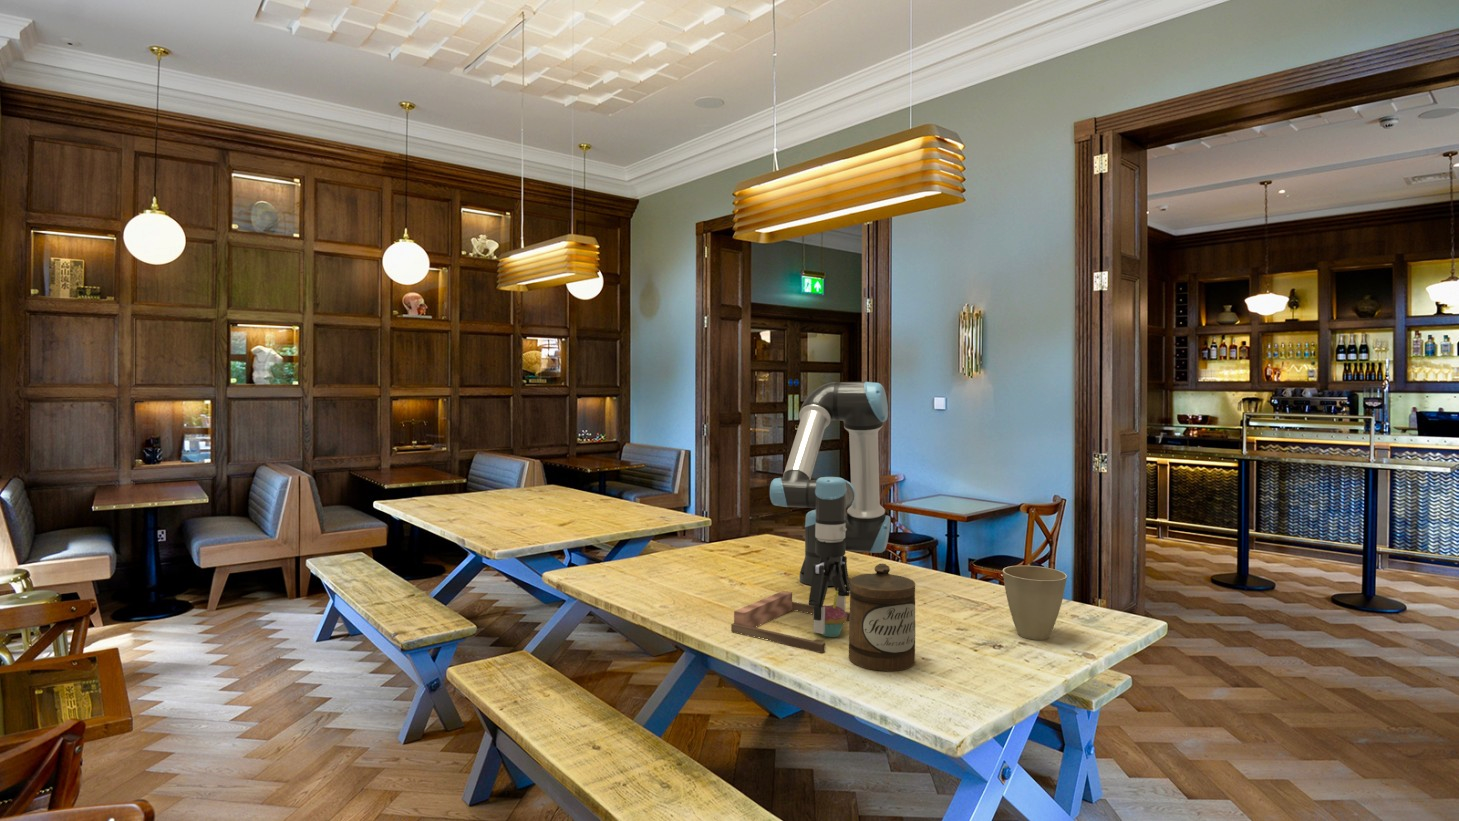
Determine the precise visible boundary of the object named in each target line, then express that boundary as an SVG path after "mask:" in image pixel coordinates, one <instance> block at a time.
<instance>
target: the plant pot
mask: <svg viewBox="0 0 1459 821" xmlns="http://www.w3.org/2000/svg"><path fill="white" fill-rule="evenodd" d="M1002 577H1003V584H1004V591H1005V595H1006V599H1007V604H1008V609H1009V612H1010V615H1011V617H1012V621H1013V624H1014V628H1015V630H1016V632H1017V635H1019V636H1020V637H1022V638H1024V639H1028V640H1034V641H1037V640H1038V641H1042V640H1048V639H1049V638H1050V636H1051V634H1052V632H1053V629H1054V627H1055V625H1056V622H1057V619H1058V616H1059V612H1060V610H1061V607H1062V603H1063V599H1064V594H1065V589H1066V584H1067V578H1068V575H1067V574H1066V573H1065V572H1064V571H1061V570H1058V569H1054V568H1050V567H1045V566H1037V565H1011V566H1007V567H1004V568H1003V569H1002Z"/></svg>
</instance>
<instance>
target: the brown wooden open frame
mask: <svg viewBox="0 0 1459 821" xmlns="http://www.w3.org/2000/svg"><path fill="white" fill-rule="evenodd" d="M791 610H792V611H794V610H798V611H797V612H799V611H802V612H801V613H804V612H808V613H807V614H809V613H812V614H811V615H813V614H814V607H813V606H810V605H809V604H806V603H800V602H796V601H793V592H792V591H788V590H781V591H779V592H777V593H775V594H772V595H770V596H769V595H768V596H767V597H765V598H763V599H760V600H757V601H755V602H753V603H750V604H748V605H746V606H743V607H741V608H739V609H736V610H734V611H733V623H731V624H730V626H731V627H730V628H731V630H730V631H733V632H732V633H734V632H738V633H742V634H746V635H745V636H747V635H750V636H749V637H751V636H755V637H760V638H764V639H768V640H771V641H770V642H773V641H774V642H773V643H777V642H778V643H777V644H781V645H786V646H791V647H794V646H795V647H794V648H798V647H799V648H798V649H804V650H807V651H812V652H816V653H821V654H824V653H826V649H825V648H826V644H825V642H822V641H816V640H812V639H807V638H803V637H799V636H794V635H790V634H785V633H781V632H776V631H773V630H768V629H763V628H759V627H760V626H761V625H760V624H762V625H764V624H766V623H768V622H770V621H772V620H774V618H775V619H777V618H779V617H781V616H783V615H785V614H787V613H789V612H791ZM845 613H847V615H848V617H847V620H846V622H849V616H850V612H848V611H845ZM778 616H779V617H778ZM776 617H777V618H776ZM769 620H770V621H769ZM767 621H768V622H767ZM765 622H766V623H765ZM763 623H764V624H763ZM759 625H760V626H759ZM756 626H757V627H756ZM738 633H737V634H738ZM742 634H741V635H742ZM755 637H754V638H755ZM760 638H759V639H760ZM764 639H763V640H764ZM768 640H767V641H768Z"/></svg>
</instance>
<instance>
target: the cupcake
mask: <svg viewBox="0 0 1459 821" xmlns="http://www.w3.org/2000/svg"><path fill="white" fill-rule="evenodd" d="M837 596H838V588H837V590H835V593H834V599H833V604H830V605H826V604H825V605H823V607H825V633H824V634H822V635H821V636H823V635H824V637H827V638H828V637H829V638H835V636H836V637H839V636H840V635H841V631H842V629H843V625H844V624H845V623H846V622H847V621H846V620H847V617H848V615H847V613H845V612H846V610H845V611H844V610H842V608H839V607H837V606H836V602H837ZM812 616H813V617H812V618H813V621H814V614H812Z"/></svg>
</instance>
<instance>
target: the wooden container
mask: <svg viewBox="0 0 1459 821" xmlns="http://www.w3.org/2000/svg"><path fill="white" fill-rule="evenodd" d="M890 570H891V568H890V566H889V565H887V564H886V563H878V564H877V565H876V564H875V566H874V571H875V573H862V574H858V575H854V576H853V577H851V578H850V580H849V585H850V591H849V592H850V594H849V613H850V616H849V621H848V659H849V661H850V662H851V663H853V664H854V665H856V666H858V667H861V668H863V669H865V670H866V669H867V670H872V671H877V672H895V671H896V672H898V671H904V670H907V669H909V668H911V667H912V666H914V665H915V661H916V583H915V580H913V579H911V578H910V577H909V578H908V577H906V576H902V575H898V574H890Z"/></svg>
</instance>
